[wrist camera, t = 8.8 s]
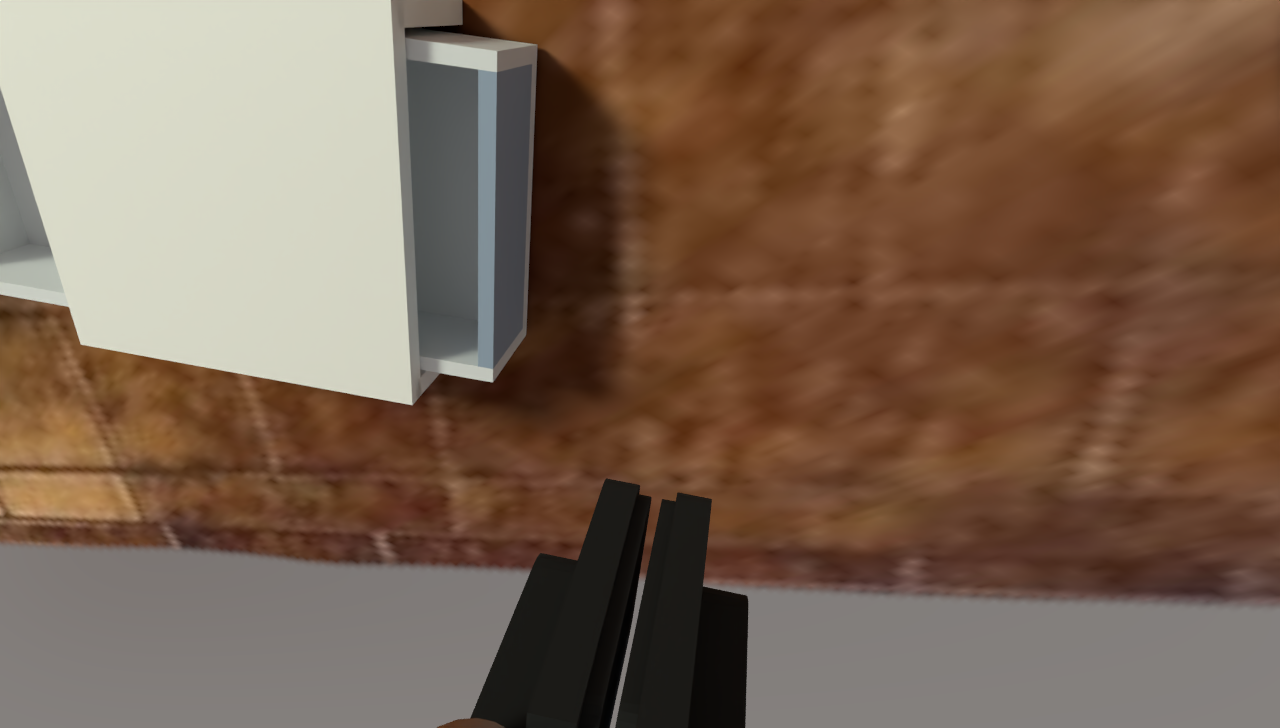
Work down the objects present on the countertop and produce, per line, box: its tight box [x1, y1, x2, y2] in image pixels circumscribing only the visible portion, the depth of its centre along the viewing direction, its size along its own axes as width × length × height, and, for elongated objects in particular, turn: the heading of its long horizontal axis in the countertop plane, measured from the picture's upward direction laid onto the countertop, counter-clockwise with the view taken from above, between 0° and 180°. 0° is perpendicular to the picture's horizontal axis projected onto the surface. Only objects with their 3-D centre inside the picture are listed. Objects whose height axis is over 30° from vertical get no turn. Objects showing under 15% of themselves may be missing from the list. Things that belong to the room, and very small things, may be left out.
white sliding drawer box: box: [0, 27, 538, 383], centre depth 26 cm, size 24×12×4 cm, turn 83°
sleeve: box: [0, 0, 463, 405], centre depth 26 cm, size 14×14×6 cm
